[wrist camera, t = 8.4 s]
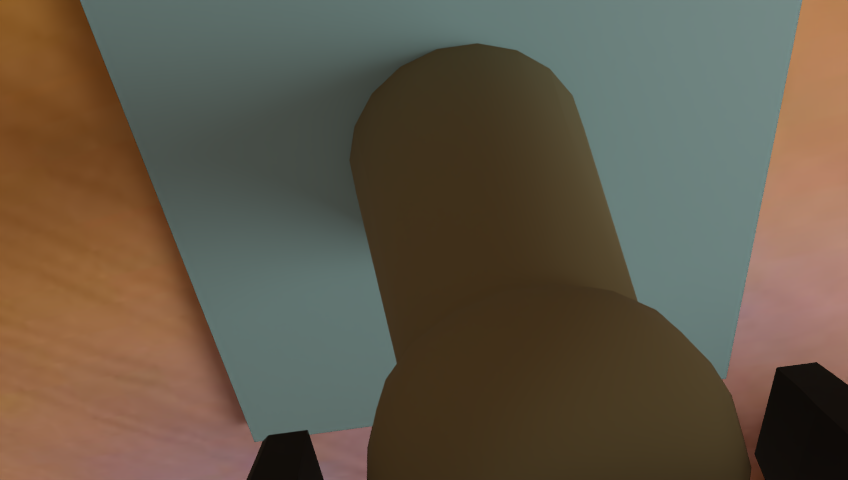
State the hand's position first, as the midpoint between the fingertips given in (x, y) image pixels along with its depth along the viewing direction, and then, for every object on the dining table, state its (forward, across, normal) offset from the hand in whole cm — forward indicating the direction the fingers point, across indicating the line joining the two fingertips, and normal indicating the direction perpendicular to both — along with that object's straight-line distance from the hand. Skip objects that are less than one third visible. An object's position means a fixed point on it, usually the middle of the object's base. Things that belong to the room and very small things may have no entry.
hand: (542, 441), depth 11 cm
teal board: (+9, 0, 0) cm, 9 cm away
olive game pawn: (+9, 0, -1) cm, 9 cm away
